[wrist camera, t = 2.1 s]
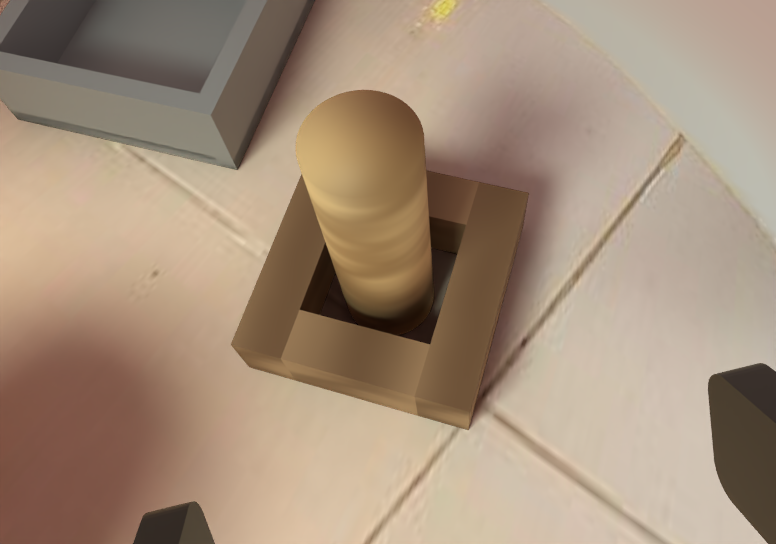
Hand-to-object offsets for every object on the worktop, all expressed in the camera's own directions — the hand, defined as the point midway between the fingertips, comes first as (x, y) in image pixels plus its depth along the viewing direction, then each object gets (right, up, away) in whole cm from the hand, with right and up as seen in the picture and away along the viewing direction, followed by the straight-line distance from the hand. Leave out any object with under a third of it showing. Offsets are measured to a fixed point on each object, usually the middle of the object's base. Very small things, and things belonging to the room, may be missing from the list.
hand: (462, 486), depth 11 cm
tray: (-13, +16, +30) cm, 36 cm away
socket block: (-1, +2, +22) cm, 22 cm away
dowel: (-1, +2, +22) cm, 22 cm away
